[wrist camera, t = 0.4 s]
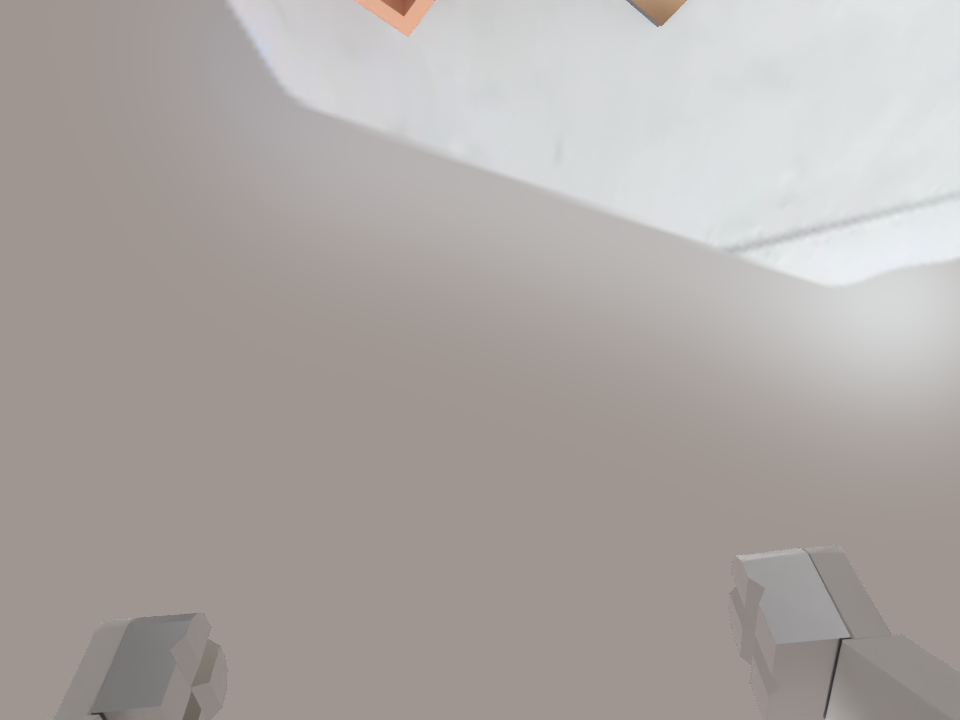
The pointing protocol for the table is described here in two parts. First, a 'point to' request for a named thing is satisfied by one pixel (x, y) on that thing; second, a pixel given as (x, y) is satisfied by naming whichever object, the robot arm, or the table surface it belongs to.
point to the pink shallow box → (399, 12)
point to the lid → (659, 8)
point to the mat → (643, 12)
